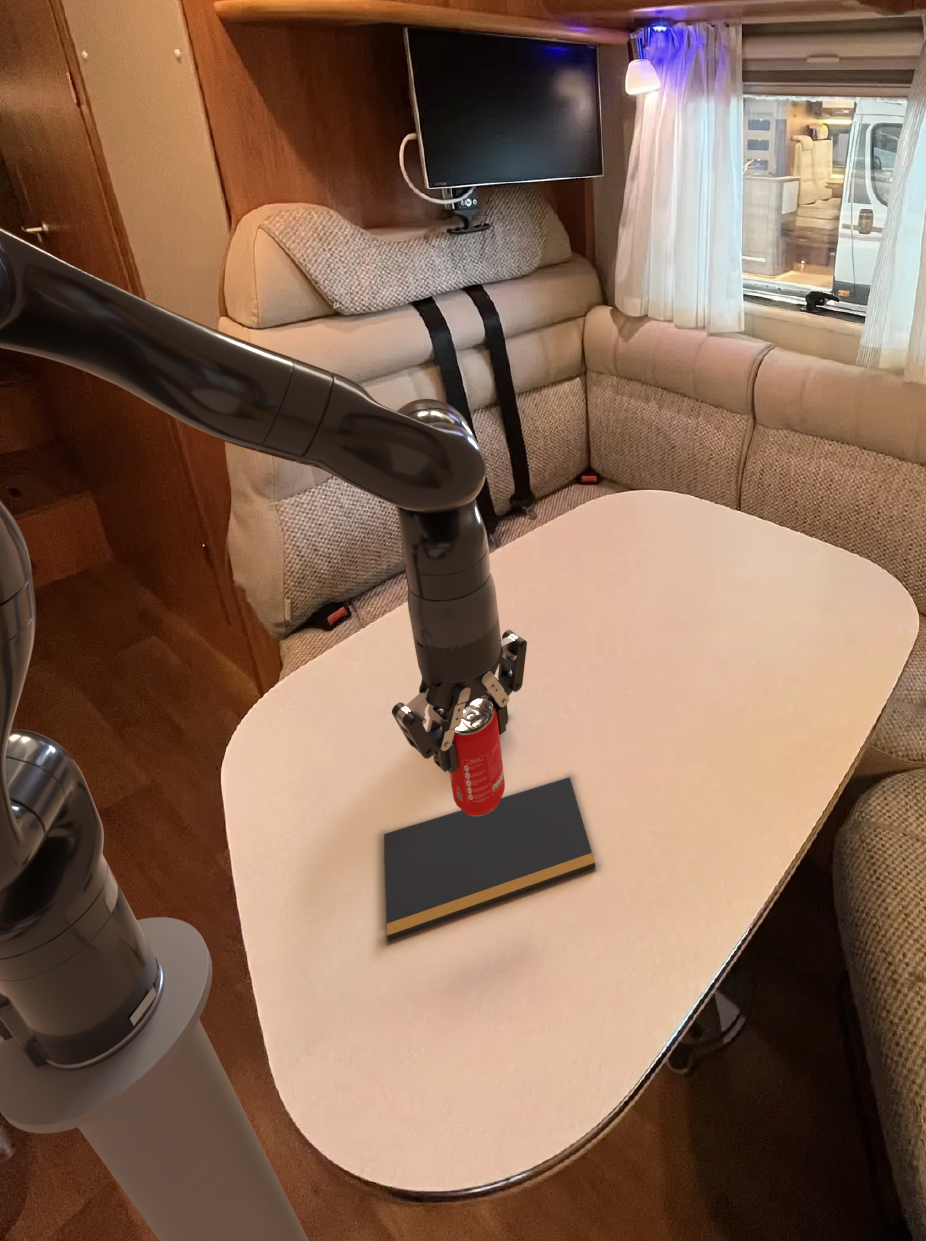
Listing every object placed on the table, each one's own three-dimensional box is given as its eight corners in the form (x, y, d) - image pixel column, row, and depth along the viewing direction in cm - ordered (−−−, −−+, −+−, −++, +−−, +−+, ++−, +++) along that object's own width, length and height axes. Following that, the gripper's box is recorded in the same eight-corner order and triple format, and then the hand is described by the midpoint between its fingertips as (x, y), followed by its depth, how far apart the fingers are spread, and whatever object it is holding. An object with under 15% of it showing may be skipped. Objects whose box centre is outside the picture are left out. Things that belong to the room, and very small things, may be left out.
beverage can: (480, 829, 73) (468, 744, 67) (444, 803, 75) (429, 720, 70) (516, 790, 77) (507, 708, 71) (480, 767, 79) (469, 686, 74)
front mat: (387, 940, 74) (386, 937, 74) (384, 836, 84) (383, 833, 84) (595, 867, 82) (595, 863, 81) (570, 779, 92) (569, 776, 91)
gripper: (492, 562, 72) (505, 687, 80) (358, 639, 62) (387, 774, 70) (543, 594, 68) (552, 723, 76) (408, 682, 58) (434, 821, 65)
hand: (473, 747), depth 73 cm, fingers closed on beverage can, 5 cm apart
